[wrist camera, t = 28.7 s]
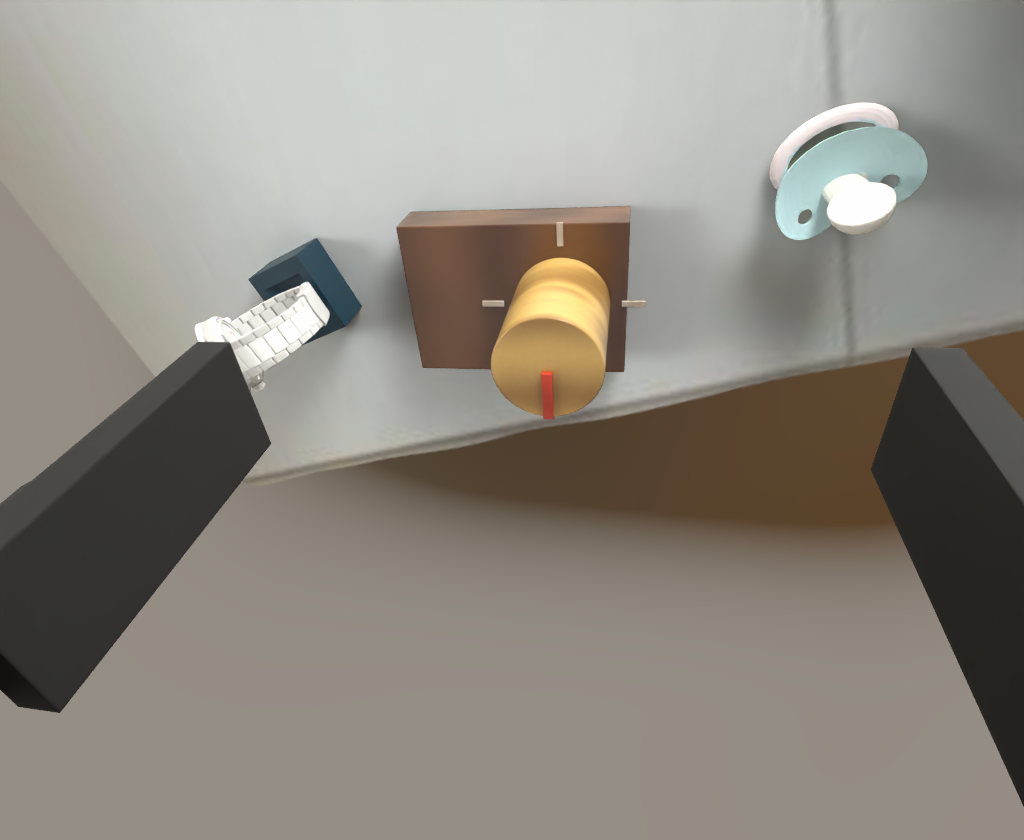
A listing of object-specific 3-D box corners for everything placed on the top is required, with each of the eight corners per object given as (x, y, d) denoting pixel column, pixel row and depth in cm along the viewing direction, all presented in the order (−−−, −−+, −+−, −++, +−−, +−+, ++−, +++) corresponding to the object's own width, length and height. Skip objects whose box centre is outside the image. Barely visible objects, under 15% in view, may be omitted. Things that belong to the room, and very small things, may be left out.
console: (649, 203, 36) (650, 220, 34) (640, 351, 42) (641, 375, 40) (410, 210, 39) (394, 226, 37) (433, 348, 45) (421, 370, 43)
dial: (511, 257, 37) (484, 320, 30) (611, 256, 36) (606, 321, 29) (517, 344, 40) (494, 417, 34) (609, 346, 39) (603, 422, 33)
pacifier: (749, 143, 34) (779, 240, 36) (768, 169, 29) (800, 279, 31) (896, 74, 31) (917, 185, 34) (945, 89, 26) (965, 218, 28)
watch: (250, 272, 44) (154, 346, 35) (336, 227, 41) (254, 297, 32) (298, 336, 46) (219, 420, 38) (381, 299, 43) (317, 381, 35)
